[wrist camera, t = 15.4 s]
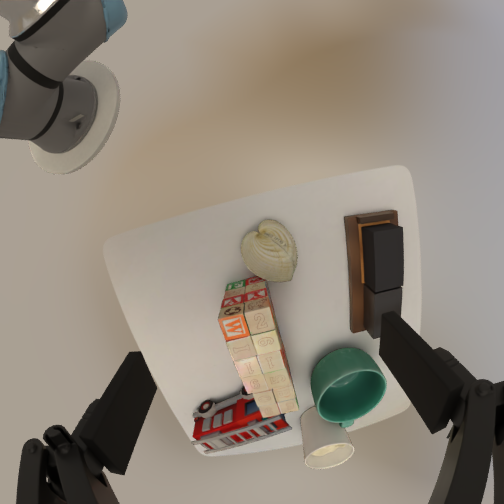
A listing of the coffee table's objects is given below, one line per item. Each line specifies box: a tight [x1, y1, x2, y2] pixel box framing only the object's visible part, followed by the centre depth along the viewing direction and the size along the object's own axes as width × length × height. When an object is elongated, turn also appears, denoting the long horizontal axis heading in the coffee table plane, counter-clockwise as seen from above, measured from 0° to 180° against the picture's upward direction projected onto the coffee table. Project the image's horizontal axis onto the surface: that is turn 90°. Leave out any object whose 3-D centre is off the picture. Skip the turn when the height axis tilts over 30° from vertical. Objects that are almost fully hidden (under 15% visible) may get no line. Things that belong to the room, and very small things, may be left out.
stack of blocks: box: [218, 276, 299, 418], centre depth 39 cm, size 21×6×12 cm, turn 15°
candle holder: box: [301, 406, 354, 469], centre depth 44 cm, size 10×10×12 cm
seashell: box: [241, 220, 298, 282], centre depth 39 cm, size 8×8×8 cm
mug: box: [311, 348, 387, 428], centre depth 43 cm, size 17×13×10 cm
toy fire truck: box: [191, 386, 292, 454], centre depth 44 cm, size 9×19×10 cm, turn 123°
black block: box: [361, 223, 404, 292], centre depth 38 cm, size 9×5×4 cm, turn 10°
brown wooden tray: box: [344, 210, 402, 339], centre depth 40 cm, size 20×9×6 cm, turn 9°
